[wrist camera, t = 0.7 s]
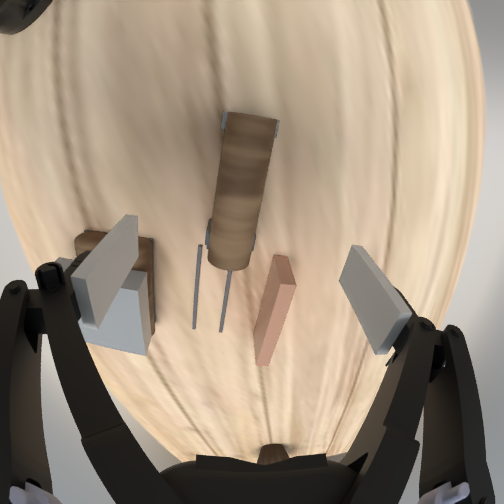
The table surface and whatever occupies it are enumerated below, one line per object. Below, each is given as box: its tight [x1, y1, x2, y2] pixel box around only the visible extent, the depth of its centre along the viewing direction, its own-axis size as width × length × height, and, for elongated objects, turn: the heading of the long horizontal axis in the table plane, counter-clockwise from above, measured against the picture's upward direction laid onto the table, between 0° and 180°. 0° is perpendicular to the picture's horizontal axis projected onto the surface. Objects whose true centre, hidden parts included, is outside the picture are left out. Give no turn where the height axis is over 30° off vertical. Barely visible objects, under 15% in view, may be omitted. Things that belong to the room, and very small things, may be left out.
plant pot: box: [257, 444, 289, 465], centre depth 69 cm, size 15×15×16 cm
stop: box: [254, 255, 296, 366], centre depth 39 cm, size 16×2×7 cm, turn 170°
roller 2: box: [131, 237, 155, 336], centre depth 38 cm, size 16×5×5 cm, turn 170°
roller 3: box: [208, 112, 278, 271], centre depth 27 cm, size 16×5×5 cm, turn 170°
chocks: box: [84, 230, 232, 332], centre depth 40 cm, size 16×23×1 cm
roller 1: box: [74, 231, 107, 256], centre depth 37 cm, size 16×5×5 cm, turn 170°
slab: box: [55, 257, 152, 356], centre depth 33 cm, size 12×14×4 cm
